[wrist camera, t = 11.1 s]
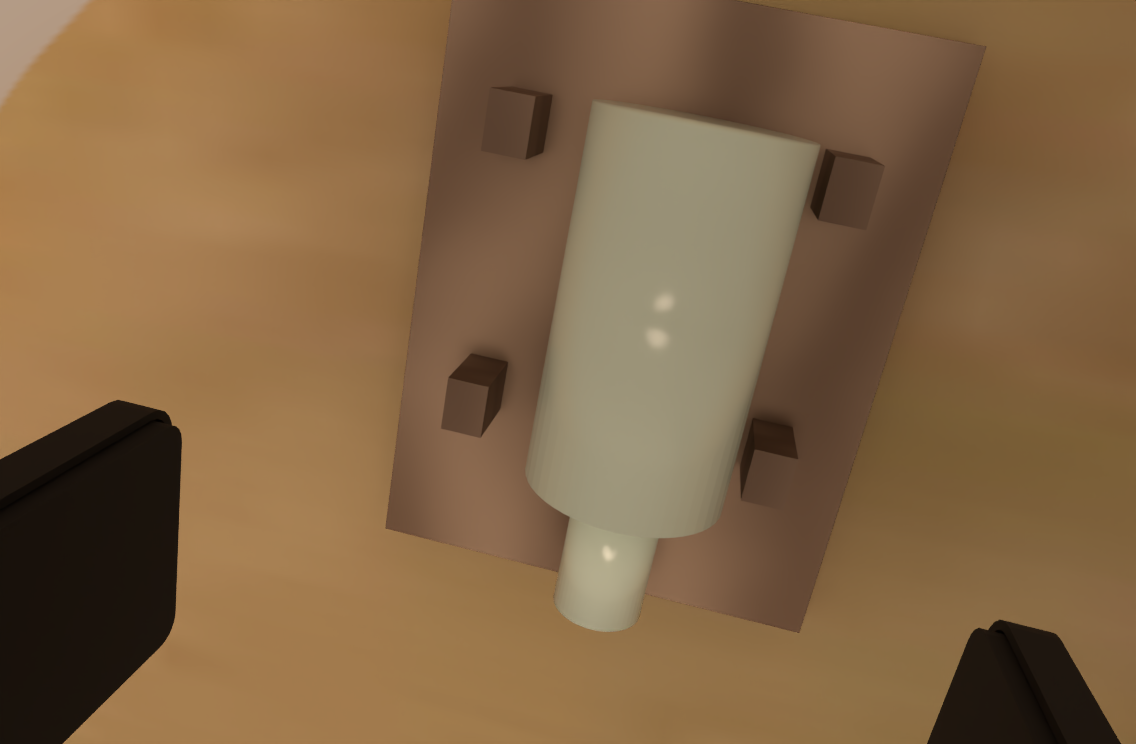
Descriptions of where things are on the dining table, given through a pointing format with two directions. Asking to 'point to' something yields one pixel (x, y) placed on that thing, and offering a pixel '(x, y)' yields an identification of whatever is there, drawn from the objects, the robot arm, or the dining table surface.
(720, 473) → the sage bottle
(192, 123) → the dining table surface
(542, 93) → the walnut cradle
